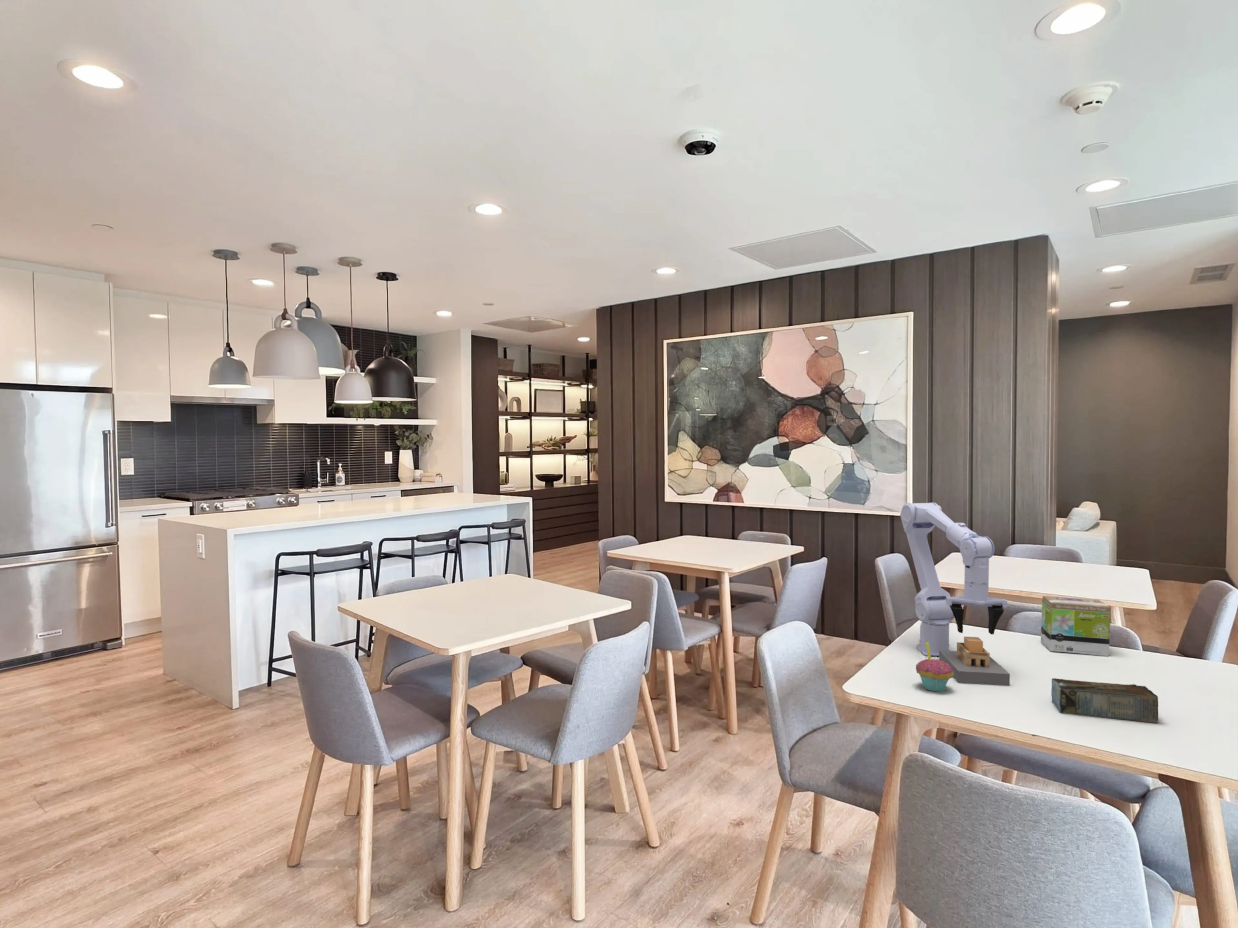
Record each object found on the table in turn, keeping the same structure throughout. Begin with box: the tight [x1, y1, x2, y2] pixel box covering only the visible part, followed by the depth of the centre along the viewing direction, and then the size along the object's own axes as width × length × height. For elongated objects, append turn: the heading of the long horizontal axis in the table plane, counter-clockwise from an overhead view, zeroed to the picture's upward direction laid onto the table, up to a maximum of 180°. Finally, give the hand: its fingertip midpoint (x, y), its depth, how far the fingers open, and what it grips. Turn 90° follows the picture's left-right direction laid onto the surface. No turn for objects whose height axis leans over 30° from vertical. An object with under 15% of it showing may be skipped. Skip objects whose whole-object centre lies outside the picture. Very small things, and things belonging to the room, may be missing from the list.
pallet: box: [956, 641, 991, 667], centre depth 183 cm, size 9×5×4 cm, turn 170°
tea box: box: [1040, 595, 1112, 657], centre depth 203 cm, size 15×10×15 cm, turn 73°
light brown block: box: [963, 636, 984, 652], centre depth 183 cm, size 4×4×3 cm
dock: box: [938, 650, 1011, 687], centre depth 183 cm, size 18×12×3 cm, turn 169°
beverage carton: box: [1050, 677, 1159, 724], centre depth 156 cm, size 8×19×7 cm, turn 71°
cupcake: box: [915, 639, 954, 692], centre depth 172 cm, size 9×8×12 cm
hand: (975, 632), depth 184 cm, fingers open, 7 cm apart
